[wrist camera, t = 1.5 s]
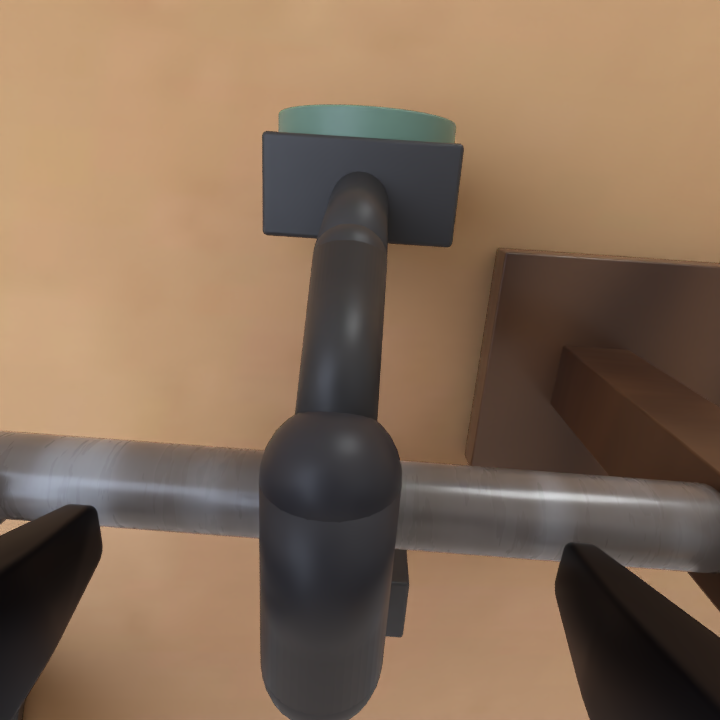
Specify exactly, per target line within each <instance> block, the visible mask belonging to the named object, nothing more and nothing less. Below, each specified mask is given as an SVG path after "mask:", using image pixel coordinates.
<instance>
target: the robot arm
mask: <svg viewBox="0 0 720 720" xmlns="http://www.w3.org/2000/svg"><path fill="white" fill-rule="evenodd" d="M101 555H102V538H101V531H100V524H99V518H98V512H97V510H96V508H95V507H93V506H91V505H81V504H67V505H65V506H62V507H60V508H58V509H56V510H54V511H52V512H50V513H48V514H45V515H43V516H41V517H39V518H37V519H35V520H33V521H31V522H28V523H26V524H24V525H22V526H20V527H18V528H16V529H14V530H11V531H9V532H7V533H5V534H3V535H1V536H0V720H22V716H23V709H24V701H25V698H26V697H27V695H28V694H29V692H30V690H31V689H32V687H33V685H34V684H35V682H36V681H37V679H38V677H39V676H40V674H41V673H42V671H43V669H44V668H45V666H46V664H47V662H48V661H49V659H50V657H51V656H52V654H53V652H54V650H55V648H56V647H57V645H58V643H59V641H60V639H61V637H62V635H63V633H64V631H65V629H66V627H67V625H68V623H69V621H70V619H71V617H72V615H73V613H74V611H75V609H76V607H77V605H78V603H79V601H80V599H81V597H82V595H83V593H84V591H85V589H86V587H87V585H88V583H89V581H90V579H91V577H92V575H93V573H94V571H95V569H96V567H97V565H98V563H99V561H100V558H101ZM555 595H556V600H557V603H558V607H559V611H560V615H561V619H562V623H563V627H564V630H565V634H566V638H567V642H568V646H569V650H570V653H571V657H572V661H573V665H574V669H575V673H576V677H577V680H578V684H579V687H580V691H581V694H582V698H583V701H584V704H585V707H586V710H587V712H588V715H589V718H590V720H720V637H718V636H717V635H716V634H714V633H713V632H712V631H710V630H709V629H708V628H706V627H705V626H703V625H702V624H701V623H699V622H698V621H697V620H695V619H694V618H693V617H691V616H690V615H689V614H687V613H686V612H685V611H683V610H682V609H681V608H679V607H678V606H677V605H675V604H674V603H673V602H671V601H670V600H668V599H667V598H666V597H664V596H663V595H662V594H660V593H659V592H658V591H656V590H655V589H654V588H652V587H651V586H650V585H648V584H647V583H646V582H644V581H643V580H642V579H640V578H639V577H637V576H636V575H635V574H633V573H632V572H631V571H629V570H628V569H627V568H625V567H624V566H623V565H621V564H620V563H619V562H617V561H616V560H615V559H613V558H612V557H611V556H609V555H608V554H606V553H605V552H604V551H602V550H601V549H600V548H598V547H597V546H595V545H593V544H590V543H577V542H569V543H567V544H566V545H565V547H564V549H563V553H562V557H561V560H560V564H559V568H558V572H557V576H556V580H555Z"/></svg>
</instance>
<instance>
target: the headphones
mask: <svg viewBox="0 0 720 720" xmlns="http://www.w3.org/2000/svg"><path fill="white" fill-rule="evenodd" d="M455 133H456V125H455V123H454V122H452V121H450V120H448V119H446V118H443V117H440V116H436V115H432V114H428V113H422V112H417V111H411V110H404V109H396V108H387V107H376V106H361V105H305V106H296V107H290V108H287V109H284V110H282V111H280V112H279V132H273V131H266V132H263V135H262V179H263V232H264V234H266V235H273V236H287V237H302V238H316V239H317V241H316V244H315V247H314V252H313V259H312V268H311V277H310V285H309V294H308V303H307V312H306V321H305V330H304V339H303V348H302V356H301V365H300V374H299V383H298V392H297V401H296V410H295V415H294V416H292V417H291V418H289V419H288V420H287V421H286V422H284V423H283V424H282V425H281V426H280V427H279V428H278V429H277V430H276V432H275V433H274V435H273V436H272V438H271V440H270V441H269V443H268V444H267V446H266V448H265V451H264V454H263V457H262V460H261V464H260V472H259V552H260V654H261V670H262V677H263V681H264V684H265V687H266V690H267V692H268V694H269V696H270V698H271V699H272V701H273V703H274V705H275V706H276V707H277V708H278V709H279V710H280V712H281V713H282V714H283V715H285V716H286V717H288V718H289V719H291V720H349V719H350V718H352V717H353V716H354V715H356V714H357V713H358V712H359V711H360V710H361V709H362V708H363V707H364V706H365V705H366V704H367V702H368V700H369V699H370V697H371V695H372V694H373V692H374V690H375V688H376V686H377V683H378V680H379V677H380V673H381V669H382V663H383V654H384V645H385V636H390V637H402V635H403V630H404V622H405V614H406V606H407V598H408V590H409V575H408V563H407V550H400V549H395V544H396V535H397V525H398V516H399V507H400V498H401V489H402V467H401V463H400V459H399V455H398V451H397V448H396V446H395V444H394V442H393V440H392V438H391V437H390V435H389V434H388V433H387V431H386V430H385V429H384V428H383V427H382V425H381V424H380V423H378V422H377V417H378V401H379V385H380V369H381V353H382V337H383V321H384V305H385V289H386V273H387V245H388V243H389V244H404V245H419V246H433V247H450V246H451V244H452V240H453V232H454V224H455V216H456V208H457V200H458V192H459V184H460V176H461V168H462V160H463V152H464V147H463V145H461V144H456V143H454V142H455Z"/></svg>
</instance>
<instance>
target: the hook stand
mask: <svg viewBox="0 0 720 720" xmlns="http://www.w3.org/2000/svg"><path fill="white" fill-rule="evenodd" d="M264 451H265V450H253V449H239V448H226V447H213V446H199V445H186V444H172V443H159V442H146V441H132V440H119V439H105V438H92V437H79V436H65V435H52V434H38V433H25V432H12V431H0V524H2V523H3V522H4V521H5V520H6V519H11V520H24V521H33V520H35V519H37V518H39V517H41V516H43V515H45V514H48V513H50V512H52V511H54V510H56V509H58V508H60V507H62V506H65V505H67V504H81V505H91V506H93V507H95V508H96V510H97V512H98V518H99V524H100V526H102V527H115V528H128V529H141V530H154V531H167V532H180V533H193V534H206V535H219V536H232V537H245V538H258V539H259V472H260V464H261V460H262V457H263V454H264ZM465 456H466V459H467V462H468V465H469V466H467V465H454V464H441V463H427V462H414V461H400V463H401V467H402V489H401V498H400V507H399V516H398V525H397V535H396V544H395V549H400V550H413V551H426V552H439V553H452V554H465V555H478V556H491V557H504V558H517V559H530V560H543V561H556V562H560V560H561V557H562V553H563V549H564V547H565V545H566V544H567V543H569V542H577V543H590V544H593V545H595V546H597V547H598V548H600V549H601V550H602V551H604V552H605V553H606V554H608V555H609V556H611V557H612V558H613V559H615V560H616V561H617V562H619V563H620V564H621V565H623V566H624V567H634V568H647V569H660V570H673V571H686V572H688V574H689V575H690V576H691V577H692V578H693V580H694V581H695V582H696V583H697V585H698V586H699V587H700V588H701V589H702V591H703V592H704V593H705V594H706V596H707V597H708V598H709V599H710V601H711V602H712V603H713V604H714V605H715V607H716V608H717V609H718V610H719V612H720V263H709V262H695V261H680V260H666V259H651V258H636V257H622V256H607V255H593V254H578V253H563V252H549V251H534V250H520V249H505V248H498V249H497V253H496V259H495V265H494V272H493V278H492V285H491V291H490V297H489V304H488V310H487V316H486V323H485V329H484V335H483V342H482V348H481V354H480V361H479V367H478V374H477V380H476V386H475V393H474V399H473V405H472V412H471V418H470V424H469V431H468V437H467V443H466V450H465Z"/></svg>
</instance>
